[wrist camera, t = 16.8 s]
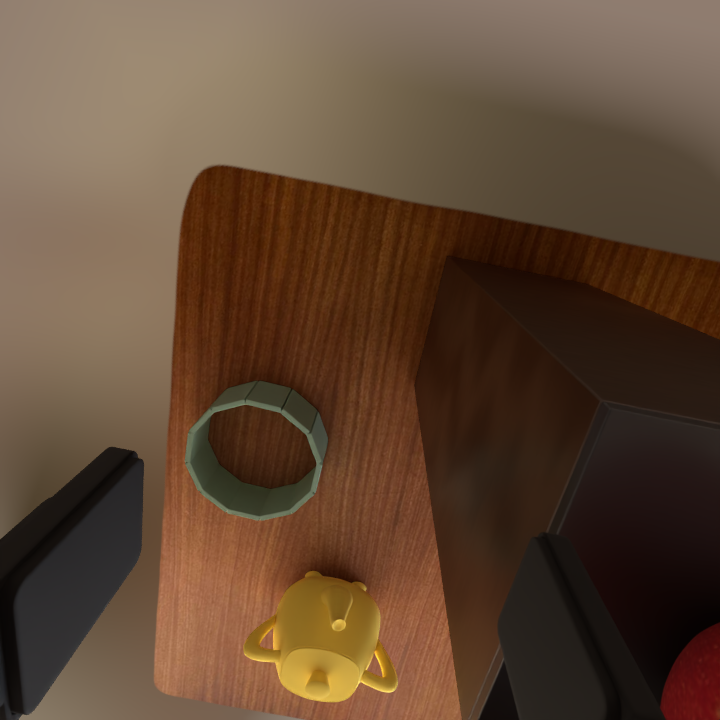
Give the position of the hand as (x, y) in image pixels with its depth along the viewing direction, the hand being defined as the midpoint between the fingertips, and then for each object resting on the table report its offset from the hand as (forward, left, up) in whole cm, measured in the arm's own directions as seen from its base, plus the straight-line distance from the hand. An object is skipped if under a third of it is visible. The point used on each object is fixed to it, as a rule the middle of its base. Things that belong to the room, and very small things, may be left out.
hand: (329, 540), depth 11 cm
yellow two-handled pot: (+37, -16, -36) cm, 54 cm away
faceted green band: (+14, -17, -36) cm, 42 cm away
